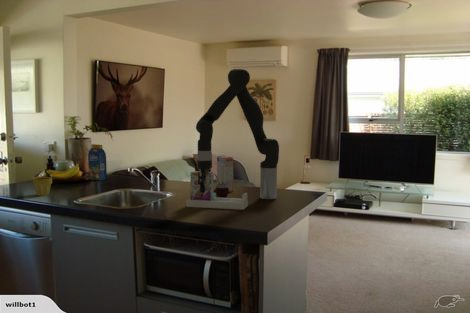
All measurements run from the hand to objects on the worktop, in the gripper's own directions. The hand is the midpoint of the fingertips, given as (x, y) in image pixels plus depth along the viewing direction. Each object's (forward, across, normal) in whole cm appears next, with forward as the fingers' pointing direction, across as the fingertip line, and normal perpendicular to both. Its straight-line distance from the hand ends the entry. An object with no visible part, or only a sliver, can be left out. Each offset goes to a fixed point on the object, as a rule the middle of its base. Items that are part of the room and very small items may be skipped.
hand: (204, 190), depth 230 cm
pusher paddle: (+6, 0, -8) cm, 11 cm away
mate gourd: (+8, +19, -4) cm, 21 cm away
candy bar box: (+7, 0, +2) cm, 7 cm away
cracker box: (+8, +45, +2) cm, 46 cm away
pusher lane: (+8, 0, -6) cm, 10 cm away
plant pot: (+8, +7, +102) cm, 102 cm away
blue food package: (+8, +65, +100) cm, 120 cm away
